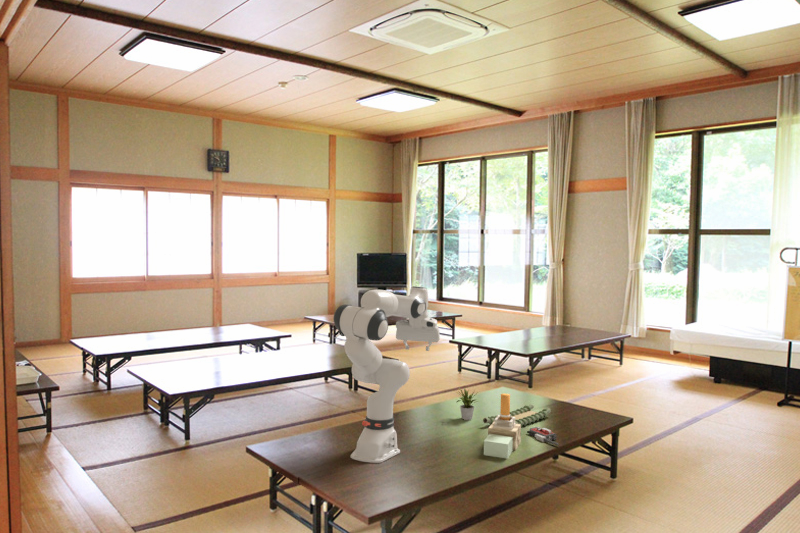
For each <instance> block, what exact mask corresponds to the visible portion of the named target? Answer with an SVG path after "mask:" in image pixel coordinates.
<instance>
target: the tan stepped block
mask: <svg viewBox="0 0 800 533" xmlns="http://www.w3.org/2000/svg"><path fill="white" fill-rule="evenodd" d="M497 415H498V416H497ZM497 415H496V416H497V417H496V418H495V420H494V422H493V423H492V424H491V425H490V424H489V427H488V428H487V436H488V435H489V434H495V435H502V436H509V437H513V451H516V450H517V449H518V447H519V446H520V444H521V442H522V441H521V439H522V438H521V436H522V427H521V424H516V423H515V417H510V421H507V420H500V414H497Z"/></svg>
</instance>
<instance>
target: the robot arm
mask: <svg viewBox="0 0 800 533" xmlns="http://www.w3.org/2000/svg"><path fill="white" fill-rule="evenodd" d="M428 307H429V292H428V289H427V288H426V287H424V286H411V287H410V289H409V295H401V294H396V293H393V292H391V291H389V290H384V289H371V290H368V291H366V292H364V293H363V295H362V296H361V298H360V306H356V305H355V306H354V305H352V304H341V305H339V306H338V307H337V308H336V310H335V312H334V314H333V324H334V326H335V328H336V329H337V331H338V333H339V335H340V336H342V337H345V338H346V340H345V341H344V342H345V343H344V346H343V347H344V352H345V355H346V356H347V358H348V360H350V362H351V363H352V365H351V374H352V377H353V379H354V380H356V381H358V382H362V383H365V384H372V385H379V388H378V391H375V392H373V393H372V394H370V395H369V396H368V398H367V400H366V416H365V419H364V420H363V421H362V422H361V424H362V426H363V427H364V428H363V430H362V432H361V433H360V435H359V438H358V440H356V448H355V449H354V450H353V452H352V453H351V454H350V458H351V459H352V460H355V461H359V462H362V463H363V462H364V463H373V464H378V463H379V464H380V463H381V464H382V463H383V462H385V461H387V460H389V459H390V458H393V457H394V456H396V455H398V454H400V453H401V449H399V448H398V437H397V436H398V435H397V431H396V429H395V428H394V426H395V423H394V422H395V417H394V402H395V398H396V394H397V393H398V391H399V389H401V388H402V387H403V386H405V385H406V383H407V382H408V381H409V379H410V376H411V370H410V369H411V368H410V366H409V365H408V363H407V362H406V361H405V362H404V361H401V360H398V359H395V358H393V359H392V358H391V359H390V358H385V357H384V358H383V354H382V351H381V350H380V349H379V347H377V346H376V345H375V343H373V341H381V340H382V339H384V338H385V336H386V335H387V333H388V329H389V320H388V318H389V317H399V318H405V319H399V320H397V321H396V322H395V328H396V332H395V338H396V340H398V341H399V340H400V341H403V344H404V346H405V350H409V349H410V344H408V343H407V342H408V341H411V342H412V341H415V342H426V343H428V345H427V346H426V347H425V351H426V352H429V351H430V347H431V346H432V344H433V343H438V342H440V338H441V336H440V333H441V332H440V329H439V325H438V320H437V319H435V318H432V317H431V316H429V312H428ZM406 318H407V319H406Z"/></svg>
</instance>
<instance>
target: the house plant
mask: <svg viewBox="0 0 800 533" xmlns="http://www.w3.org/2000/svg"><path fill="white" fill-rule="evenodd" d="M457 388H458V389H459V390H460V391H458V392H457V394H458V396H460V397H459V399H457V401H456V404H457V403H459V402H461V403H462V404H461V405H460V406H459V408H460V415H461V419H462V420H463V419H464V420H463V421H472V420H473V416H474V411H475V410H474V409H475V406H474V404H475V403H477V402H479V401H478V400H476V399H473V398H474V396H476V395H477V394H479V393H480V391H479V392H478V391H477V392H476V393H475V390H476V389H474V390H473V391H472V393H470V395H469V391H470V390H469V389H468V390H466V388H465V387H463V390H464V392H463V390H462V389H461V388H460V387H457ZM453 392H456V390H453ZM471 419H472V420H471Z"/></svg>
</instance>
